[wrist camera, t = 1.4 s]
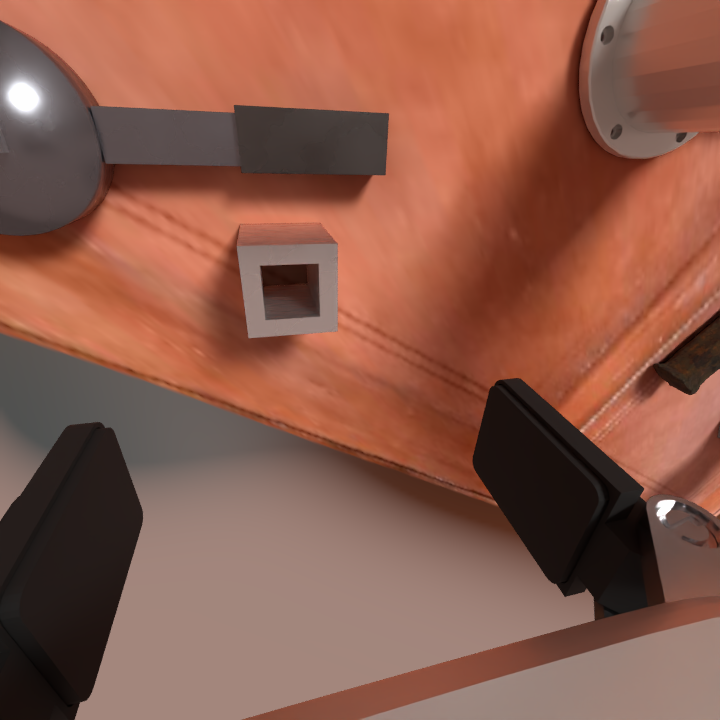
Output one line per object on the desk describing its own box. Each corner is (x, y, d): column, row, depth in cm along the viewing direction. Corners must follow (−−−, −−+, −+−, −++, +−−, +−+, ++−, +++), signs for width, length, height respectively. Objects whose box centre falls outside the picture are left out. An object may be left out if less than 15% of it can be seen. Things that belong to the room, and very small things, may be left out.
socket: (320, 223, 25) (337, 243, 19) (321, 296, 27) (337, 331, 22) (240, 223, 23) (236, 246, 18) (249, 300, 26) (248, 338, 21)
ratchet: (379, 52, 21) (415, 25, 16) (372, 222, 25) (398, 240, 21) (-162, 2, 16) (-335, -57, 11) (-52, 227, 20) (-143, 252, 16)
